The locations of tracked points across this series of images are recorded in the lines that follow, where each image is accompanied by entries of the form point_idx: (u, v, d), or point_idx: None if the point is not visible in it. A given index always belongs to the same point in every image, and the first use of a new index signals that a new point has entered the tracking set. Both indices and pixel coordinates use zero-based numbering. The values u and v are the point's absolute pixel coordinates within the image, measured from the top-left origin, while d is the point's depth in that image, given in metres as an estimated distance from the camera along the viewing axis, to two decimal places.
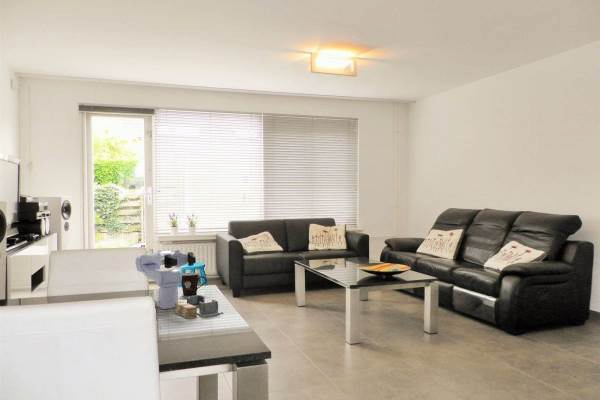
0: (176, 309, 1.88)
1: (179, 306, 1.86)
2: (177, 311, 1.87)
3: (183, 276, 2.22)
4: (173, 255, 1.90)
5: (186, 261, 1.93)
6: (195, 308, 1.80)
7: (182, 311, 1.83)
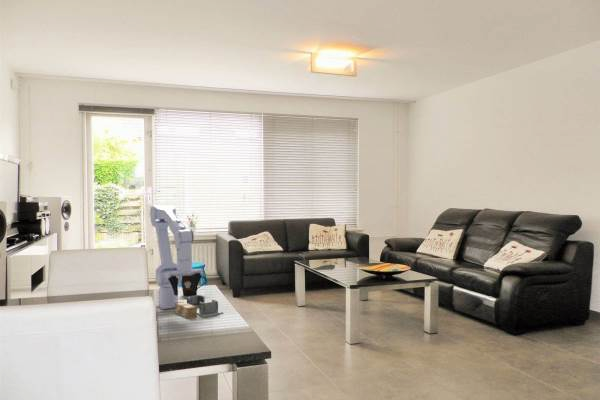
0: (176, 309, 1.88)
1: (179, 306, 1.85)
2: (177, 311, 1.87)
3: (183, 276, 2.22)
4: (182, 273, 1.82)
5: None
6: (195, 308, 1.80)
7: (182, 311, 1.83)
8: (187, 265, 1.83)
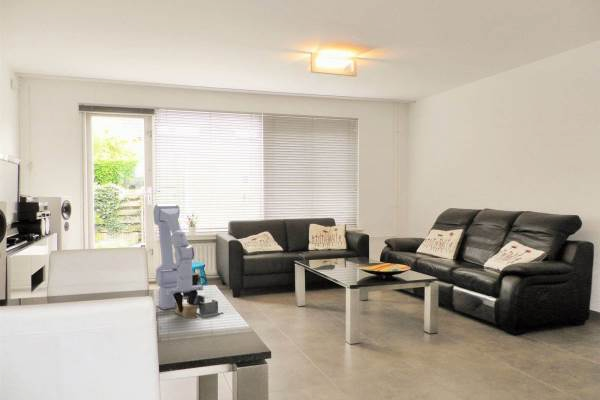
0: (176, 309, 1.88)
1: None
2: (177, 311, 1.87)
3: None
4: (182, 290, 1.82)
5: None
6: (195, 308, 1.80)
7: None
8: (187, 282, 1.83)
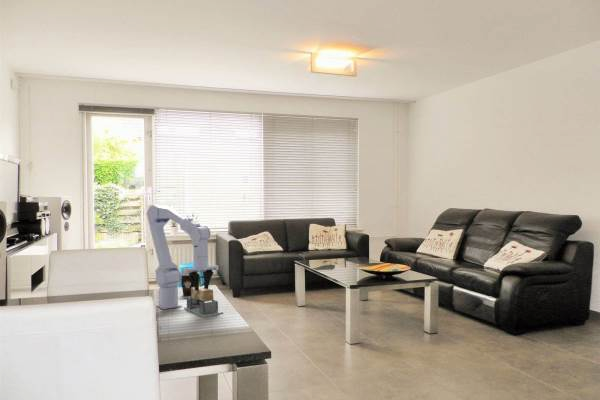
0: (192, 294, 1.92)
1: (195, 290, 1.90)
2: (193, 295, 1.91)
3: (183, 276, 2.22)
4: (199, 269, 1.86)
5: None
6: (211, 291, 1.84)
7: (198, 295, 1.87)
8: (203, 262, 1.87)
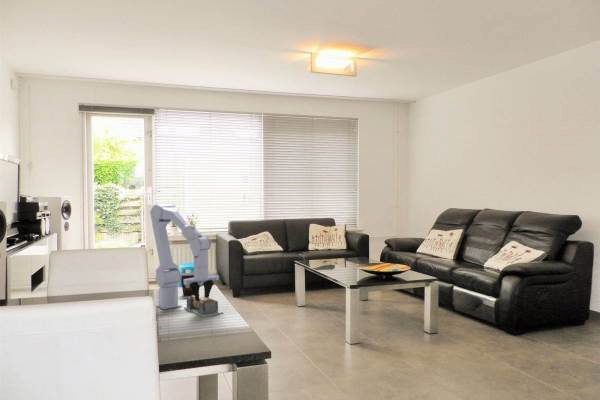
0: (192, 302, 1.92)
1: None
2: (193, 304, 1.91)
3: (183, 276, 2.22)
4: None
5: None
6: (212, 301, 1.84)
7: None
8: (204, 272, 1.87)
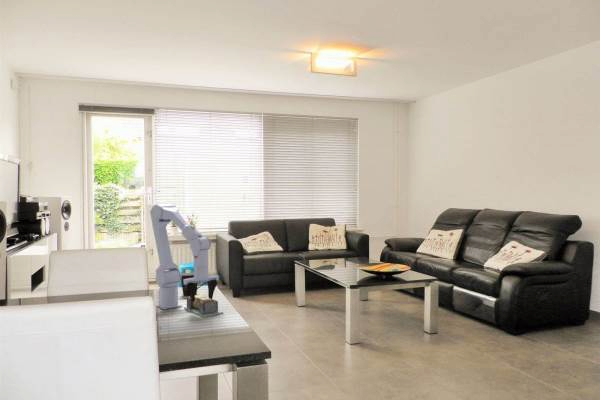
0: (192, 302, 1.92)
1: (196, 299, 1.89)
2: (193, 304, 1.91)
3: (183, 276, 2.22)
4: None
5: None
6: (212, 301, 1.84)
7: None
8: (204, 272, 1.87)
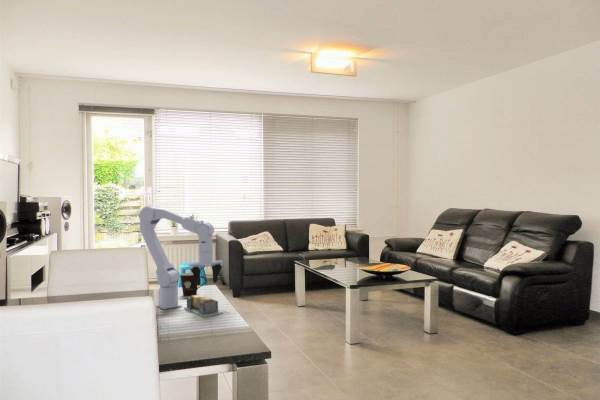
0: (192, 302, 1.92)
1: (196, 299, 1.89)
2: (193, 304, 1.91)
3: (183, 276, 2.22)
4: (204, 264, 1.94)
5: None
6: (212, 301, 1.84)
7: None
8: (209, 257, 1.95)
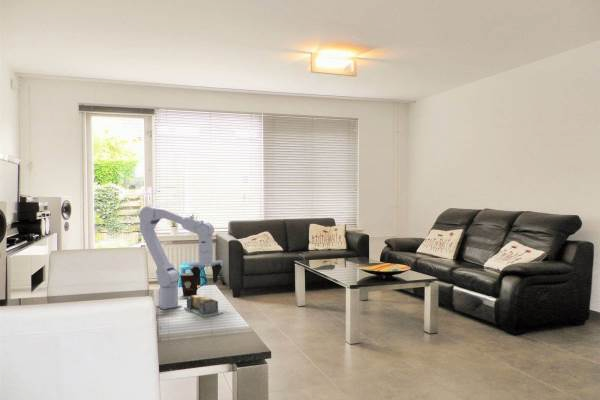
0: (192, 302, 1.92)
1: (196, 299, 1.89)
2: (193, 304, 1.91)
3: (183, 276, 2.22)
4: (204, 264, 1.94)
5: None
6: (212, 301, 1.84)
7: None
8: (209, 257, 1.95)
